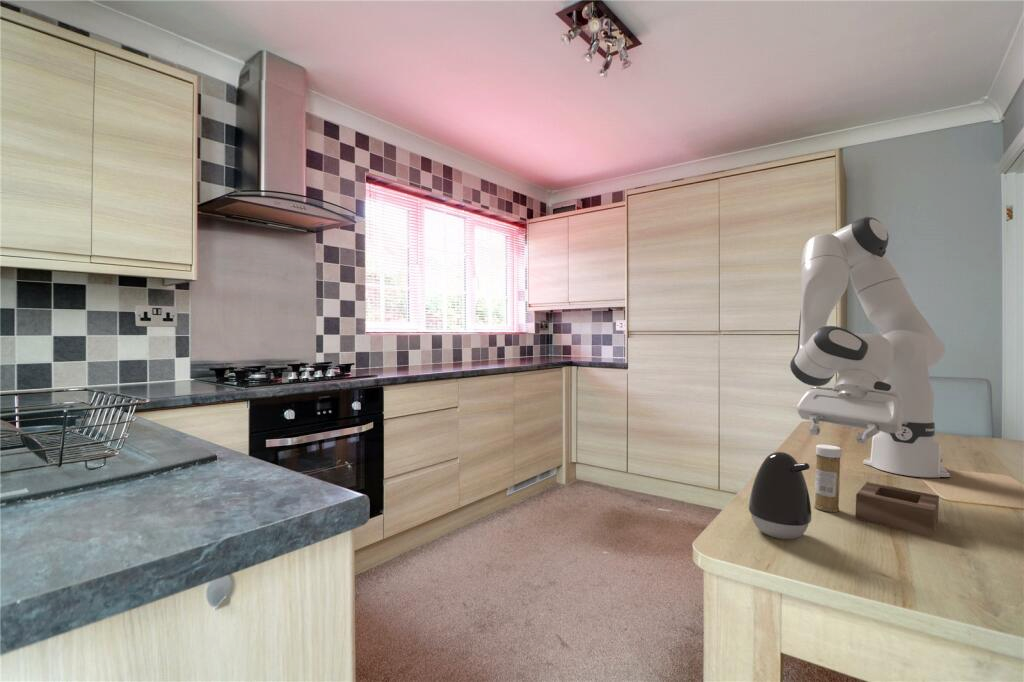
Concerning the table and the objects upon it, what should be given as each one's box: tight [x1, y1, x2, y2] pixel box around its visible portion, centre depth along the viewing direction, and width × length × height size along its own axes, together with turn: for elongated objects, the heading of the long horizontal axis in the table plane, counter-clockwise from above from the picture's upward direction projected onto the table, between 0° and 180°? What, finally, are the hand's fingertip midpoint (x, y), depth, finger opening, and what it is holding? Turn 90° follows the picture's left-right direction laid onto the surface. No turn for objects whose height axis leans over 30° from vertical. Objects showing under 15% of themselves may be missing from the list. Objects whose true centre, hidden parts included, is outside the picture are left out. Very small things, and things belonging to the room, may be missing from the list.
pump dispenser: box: [748, 451, 812, 540], centre depth 91 cm, size 10×10×15 cm
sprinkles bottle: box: [813, 444, 842, 513], centre depth 105 cm, size 5×5×13 cm
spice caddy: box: [854, 481, 940, 538], centre depth 100 cm, size 12×12×5 cm
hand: (836, 437), depth 110 cm, fingers open, 8 cm apart
